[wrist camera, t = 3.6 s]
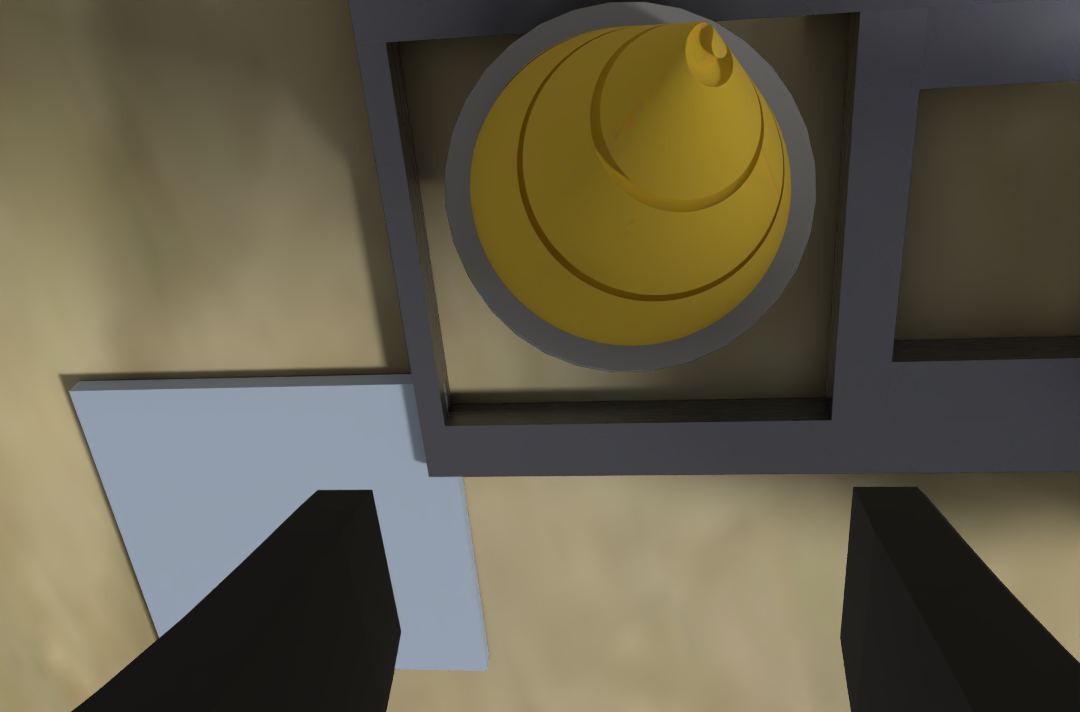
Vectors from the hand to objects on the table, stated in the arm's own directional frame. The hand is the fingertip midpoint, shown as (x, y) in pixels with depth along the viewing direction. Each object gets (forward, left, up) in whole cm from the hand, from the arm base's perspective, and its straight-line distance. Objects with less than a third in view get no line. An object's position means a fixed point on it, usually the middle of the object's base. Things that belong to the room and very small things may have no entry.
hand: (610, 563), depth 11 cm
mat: (+8, +7, -9) cm, 14 cm away
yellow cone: (0, 0, -9) cm, 9 cm away
